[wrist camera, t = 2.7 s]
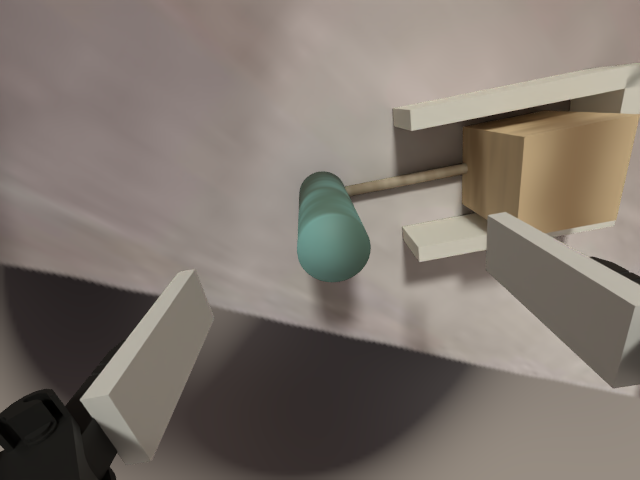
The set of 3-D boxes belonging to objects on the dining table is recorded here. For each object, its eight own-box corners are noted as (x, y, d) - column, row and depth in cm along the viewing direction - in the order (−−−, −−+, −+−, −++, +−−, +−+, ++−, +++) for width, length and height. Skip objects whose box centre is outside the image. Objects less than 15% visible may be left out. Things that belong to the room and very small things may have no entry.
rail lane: (403, 239, 26) (419, 262, 23) (392, 108, 22) (410, 110, 18) (570, 208, 26) (614, 225, 22) (592, 68, 22) (650, 61, 18)
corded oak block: (307, 233, 26) (310, 306, 17) (291, 160, 23) (283, 199, 14) (536, 189, 25) (669, 240, 16) (545, 110, 23) (707, 116, 14)
